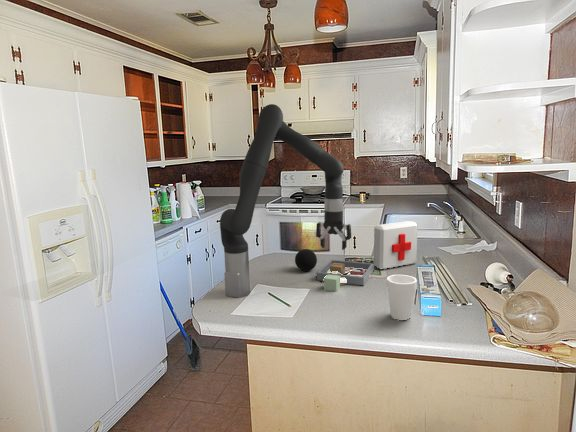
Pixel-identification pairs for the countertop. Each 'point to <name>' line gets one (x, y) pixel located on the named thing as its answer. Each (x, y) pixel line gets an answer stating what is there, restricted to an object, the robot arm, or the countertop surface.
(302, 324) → the countertop surface
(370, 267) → the tray
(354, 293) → the countertop surface
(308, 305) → the countertop surface
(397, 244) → the bevelled white case
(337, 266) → the walnut block
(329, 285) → the sage green block
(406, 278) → the foam cup
